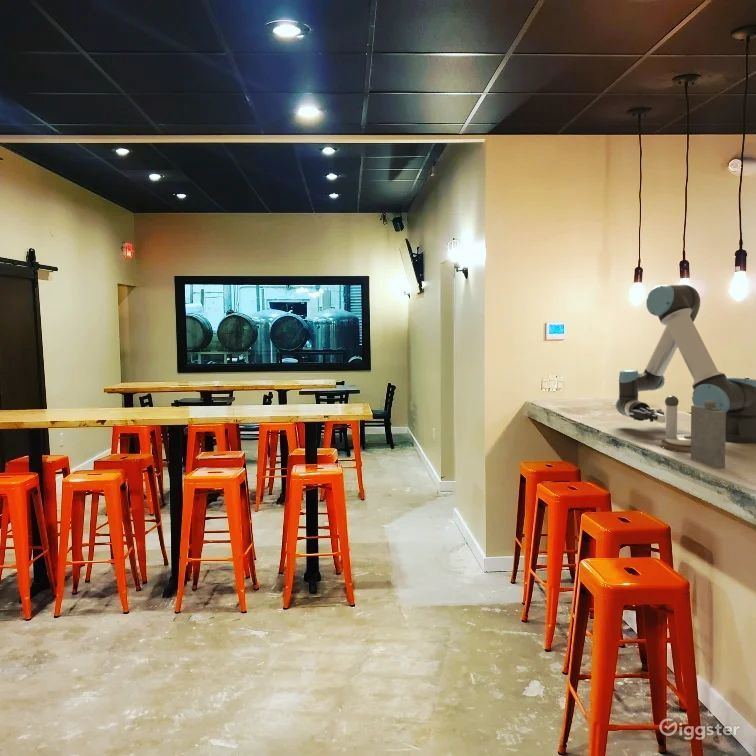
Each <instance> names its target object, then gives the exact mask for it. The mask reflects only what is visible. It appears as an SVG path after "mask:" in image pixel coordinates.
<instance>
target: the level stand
mask: <svg viewBox="0 0 756 756" xmlns="http://www.w3.org/2000/svg"><path fill="white" fill-rule="evenodd" d="M661 446H662V447H664V448H667V449H666V450H668V449H671V450H670V451H672V450H676V451H675V452H679V451H683V452H682V453H691V446H684V445H675V444H671V443H667V442H666V441H665V439H663V440H662V441H660V447H661ZM662 447H661V448H662ZM664 448H663V449H664Z"/></svg>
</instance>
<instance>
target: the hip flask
mask: <svg viewBox="0 0 756 756" xmlns="http://www.w3.org/2000/svg"><path fill="white" fill-rule="evenodd" d="M704 404H705V405H704V406H698V405H694V404H693V405H691V406H690V407H691V408H690V434H691V452H690V459H691V458H692V459H691V460H694V459H696V460H695V461H697V460H699V461H698V462H701V461H702V462H701V463H703V462H704V463H703V464H706V463H707V464H706V465H708V464H709V466H710V467H712V466H713V467H712V468H714V469H726V441H725V432H726V411H723V410H721V409H718V408H716V405H715V404H716V401H704Z"/></svg>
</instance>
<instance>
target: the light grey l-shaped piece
mask: <svg viewBox="0 0 756 756" xmlns="http://www.w3.org/2000/svg"><path fill="white" fill-rule="evenodd" d="M664 404H665V439H664V440H665V441H666V442H667V443H671V444H675V445H684V446H691V433H690V434H687V433H685V434H684V433H681V434H680V433H679V434H678V405H679V404H680V403H679V399H678V397H676V395H669V396H667V397H666V398H665V400H664Z"/></svg>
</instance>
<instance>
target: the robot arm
mask: <svg viewBox="0 0 756 756" xmlns="http://www.w3.org/2000/svg"><path fill="white" fill-rule="evenodd" d="M700 307H701V297H700V293H699V292H698V290H697V289H696V288H694V287H693V286H690V285H688V284H678V285H677V284H672V285H671V284H662V285H661V284H660V285H656V286H655V287H653V288H652V289H651V290H650V291H649V292H648V294H647V298H646V308H647V311H648V312H649V313H650V314H651V315H653V316H656V317H658V319H659V321H660V324H661V325H663V326H665V328H664V330H663V332H662V334H661V336H660V338H659V340H658V342H657V344H656V346H655V348H654V350H653V352H652V355H651V356H650V359H649V360H648V363H647V365H646V367H645V369H644V371H643V372H642V373H639V371H638V370H635V369H621V370H620V371H619V373H618V374H619V376H618V390H619V391H618V399H617V401H616V402H615V410H616V411H617V412H618V413H619V414H620V415H623V416H625V417H629V418H631V419H633V420H634V421H638V422H639V421H640V422H641V421H647V420H649V422H650V423H652V422H654V421H655V422H658V423H660V424H666V414H665V412H664V411H663V410H662V409H661V408H659V409H656V410H655V409H652V408H651V407H650V406H649V405H648V403H646V402H643V401H640V400H639V392H646V391H655V390H660V389H662V388H663V387H664V385H665V380H666V379H665V376H664V374H665V373H666V371H667V368H668V366H669V365H670V362H671V361H672V359H673V357H674V356H675V355H674V354H675V353H676V351H677V349H678V351H679V352H680V353H679V354H681V356H682V360H684V363H685V365H686V367H687V369H688V371H689V373H690V375H691V376H692V379H693V383H692V385H691V386H692V389H693V392H692V396H691V400H692V401H691V402H692V403H693V406H694V405H698V406H704V405H705V404H704V401H716V404H715V405H716V408H718V409H721V410H723V411H726V432H725V442H734V443H750V444H751V443H752V444H753V443H756V379H754V378H752V379H751V378H739V377H727V375H726V374H725V373H724V372H722V371H719V370H718V368H717V366H716V364H715V362H714V360H713V358H712V357H711V355H710V353H709V351H708V349H707V346H706V344H705V343H704V341H703V339H702V336H701V335H700V333H699V331H698V329H697V327H696V326H695V323H694V322H695V320H696V318H697V316H698V314H699V311H700Z"/></svg>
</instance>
